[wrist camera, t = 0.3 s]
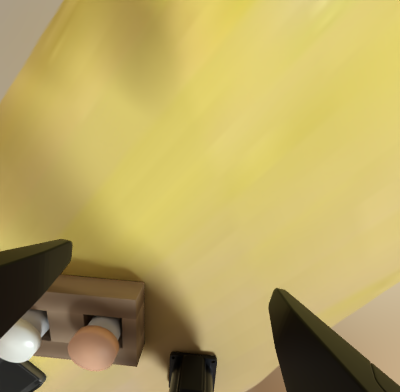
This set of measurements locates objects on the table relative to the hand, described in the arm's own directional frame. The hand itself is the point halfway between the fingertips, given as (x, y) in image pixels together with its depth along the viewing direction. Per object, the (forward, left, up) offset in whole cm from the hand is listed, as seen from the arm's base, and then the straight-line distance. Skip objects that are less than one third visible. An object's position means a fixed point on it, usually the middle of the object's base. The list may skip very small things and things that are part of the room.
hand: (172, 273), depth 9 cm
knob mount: (-17, +19, -14) cm, 29 cm away
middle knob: (-17, +19, -12) cm, 28 cm away
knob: (-17, +10, -12) cm, 23 cm away
